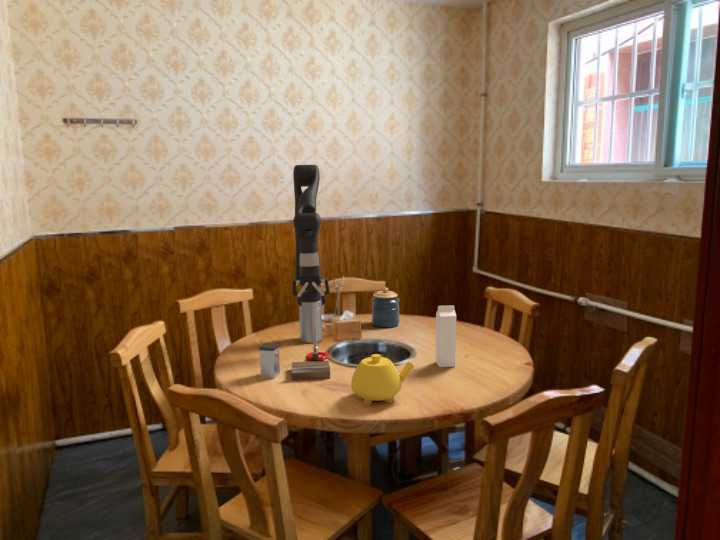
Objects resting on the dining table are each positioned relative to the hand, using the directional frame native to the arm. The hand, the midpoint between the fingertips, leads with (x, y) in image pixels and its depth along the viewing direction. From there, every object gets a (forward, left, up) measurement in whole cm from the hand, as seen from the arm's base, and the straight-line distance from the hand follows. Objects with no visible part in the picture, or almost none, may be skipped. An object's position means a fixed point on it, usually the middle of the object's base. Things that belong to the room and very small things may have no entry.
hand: (311, 305), depth 215 cm
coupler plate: (+26, -1, -18) cm, 32 cm away
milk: (+23, +48, -19) cm, 56 cm away
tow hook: (+8, +2, -19) cm, 21 cm away
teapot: (+50, +21, -19) cm, 57 cm away
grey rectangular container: (+26, -15, -18) cm, 35 cm away
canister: (-35, +35, -19) cm, 52 cm away
